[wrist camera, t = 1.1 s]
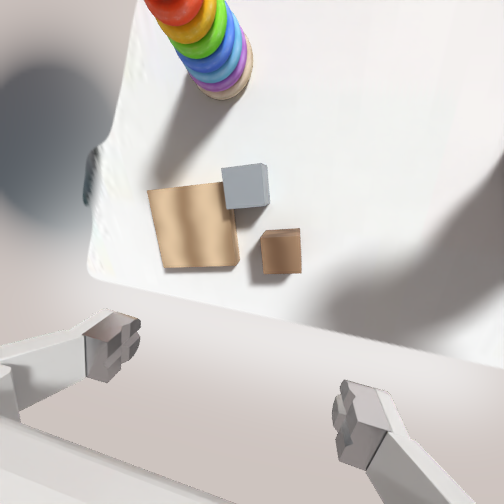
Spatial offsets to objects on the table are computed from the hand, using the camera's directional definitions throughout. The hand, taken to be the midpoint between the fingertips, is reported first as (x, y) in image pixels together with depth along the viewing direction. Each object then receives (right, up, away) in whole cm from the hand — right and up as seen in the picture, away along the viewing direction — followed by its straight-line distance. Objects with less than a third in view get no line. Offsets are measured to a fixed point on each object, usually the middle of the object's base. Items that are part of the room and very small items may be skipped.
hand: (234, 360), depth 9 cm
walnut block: (+5, +5, +26) cm, 27 cm away
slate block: (+1, +14, +24) cm, 28 cm away
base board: (-8, +8, +27) cm, 30 cm away
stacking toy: (-3, +28, +21) cm, 35 cm away
